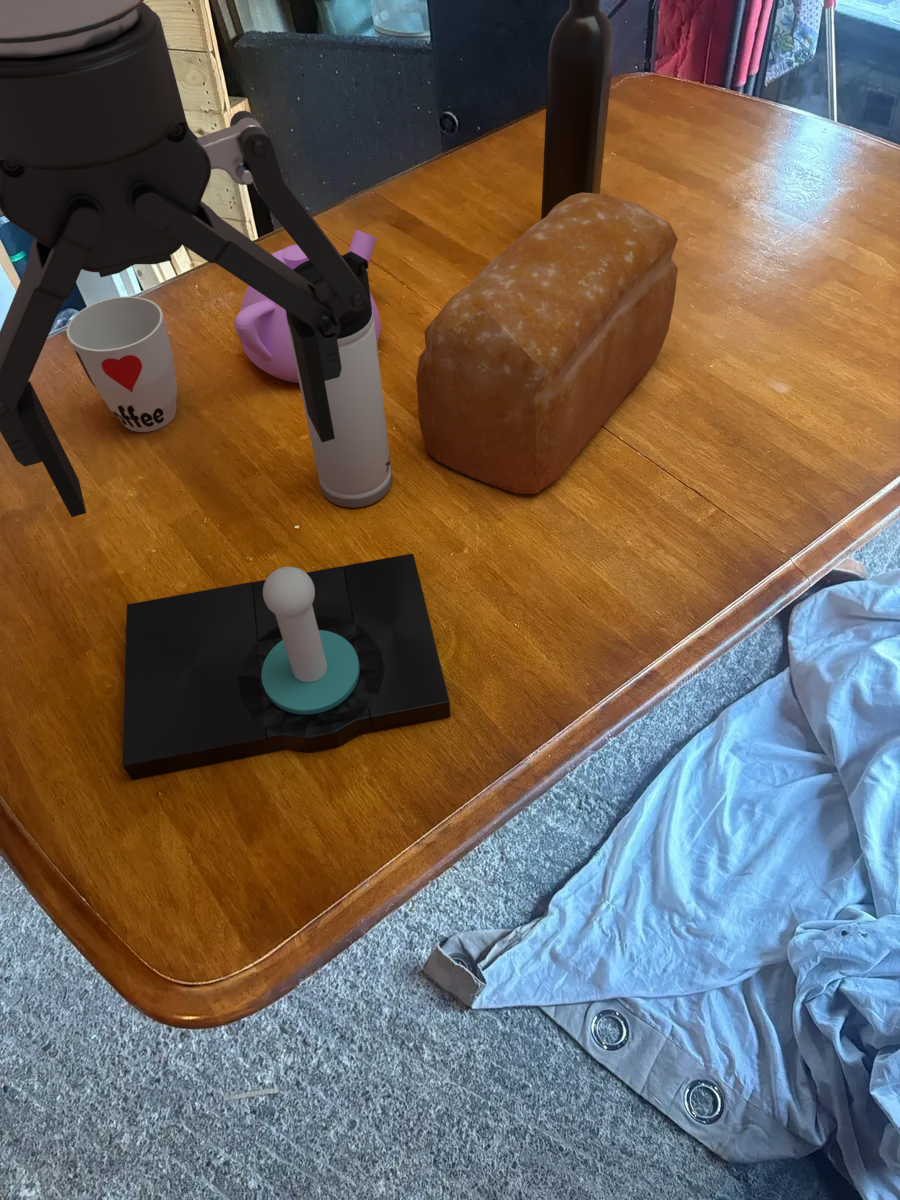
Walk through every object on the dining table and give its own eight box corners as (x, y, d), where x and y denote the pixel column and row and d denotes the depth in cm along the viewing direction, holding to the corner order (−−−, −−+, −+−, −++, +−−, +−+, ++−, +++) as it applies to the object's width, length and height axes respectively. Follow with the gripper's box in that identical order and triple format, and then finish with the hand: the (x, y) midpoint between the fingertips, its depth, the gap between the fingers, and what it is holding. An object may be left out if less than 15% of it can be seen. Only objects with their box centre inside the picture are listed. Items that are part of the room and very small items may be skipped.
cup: (89, 434, 83) (47, 343, 75) (133, 381, 88) (98, 290, 80) (166, 449, 81) (132, 357, 73) (207, 395, 86) (179, 303, 78)
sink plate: (131, 788, 60) (121, 774, 58) (134, 620, 69) (126, 604, 67) (452, 724, 62) (451, 709, 60) (414, 569, 71) (413, 553, 69)
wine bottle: (537, 248, 100) (551, -76, 77) (549, 222, 104) (567, -95, 80) (586, 255, 99) (616, -72, 76) (597, 229, 102) (629, -92, 79)
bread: (407, 453, 80) (392, 297, 67) (551, 308, 93) (560, 156, 81) (542, 511, 74) (552, 353, 62) (674, 349, 88) (703, 192, 76)
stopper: (272, 738, 62) (231, 629, 52) (265, 660, 66) (225, 545, 56) (369, 719, 62) (346, 607, 53) (355, 643, 67) (332, 526, 57)
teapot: (430, 314, 93) (424, 216, 85) (311, 422, 83) (291, 322, 74) (326, 278, 98) (311, 182, 90) (201, 376, 88) (171, 277, 79)
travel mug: (410, 480, 77) (390, 270, 62) (352, 520, 75) (316, 310, 59) (363, 447, 80) (333, 238, 65) (306, 484, 77) (260, 275, 62)
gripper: (-354, 132, 27) (-32, 582, 43) (412, -12, 32) (440, 437, 49) (-322, 47, 31) (-41, 485, 48) (347, -67, 37) (392, 362, 53)
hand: (202, 462), depth 48 cm, fingers open, 13 cm apart
